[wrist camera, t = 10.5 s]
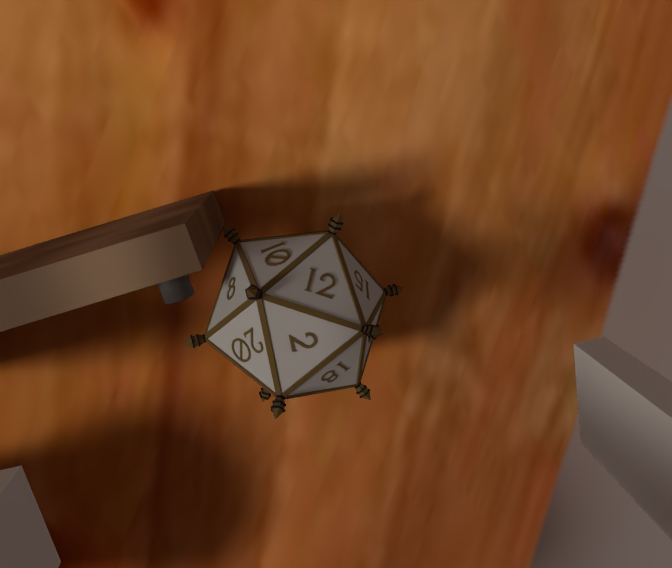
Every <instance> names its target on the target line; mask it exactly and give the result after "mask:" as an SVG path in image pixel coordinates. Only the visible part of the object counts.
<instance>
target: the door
mask: <svg viewBox="0 0 672 568" xmlns="http://www.w3.org/2000/svg"><path fill="white" fill-rule="evenodd" d="M224 224H225V221H224V218H223V215H222V212H221V210H220V207H219V204H218V201H217V198H216V195H215V192H214V191H210V192H207V193H204V194H200V195H197V196H194V197H191V198H187V199H184V200H181V201H177V202H174V203H171V204H167V205H164V206H161V207H158V208H154V209H151V210H148V211H144V212H141V213H138V214H135V215H131V216H128V217H125V218H121V219H118V220H115V221H112V222H108V223H105V224H102V225H98V226H95V227H92V228H89V229H85V230H82V231H79V232H75V233H72V234H69V235H65V236H62V237H59V238H56V239H52V240H49V241H46V242H42V243H39V244H36V245H33V246H29V247H26V248H23V249H19V250H16V251H13V252H10V253H6V254H3V255H0V332H1V331H5V330H8V329H11V328H15V327H18V326H21V325H24V324H28V323H31V322H34V321H37V320H41V319H44V318H47V317H50V316H54V315H57V314H60V313H63V312H67V311H70V310H73V309H77V308H80V307H83V306H86V305H90V304H93V303H96V302H99V301H103V300H106V299H109V298H112V297H116V296H119V295H122V294H125V293H129V292H132V291H135V290H139V289H142V288H145V287H148V286H152V285H155V284H157V285H158V287H159V290H160V292H161V295H162V297H163V300H164V302H165V304H172V303H176V302H179V301H182V300H185V299H187V298H189V297H190V296H192V295H193V294H194V290H193V288H192V285H191V283H190V280H189V277H188V275H187V274H191V273H194V272H197V271H201V270H203V267H204V265H205V263H206V261H207V259H208V257H209V255H210V253H211V251H212V249H213V247H214V245H215V243H216V241H217V239H218V237H219V235H220V233H221V231H222V229H223V226H224Z"/></svg>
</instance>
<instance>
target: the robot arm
mask: <svg viewBox="0 0 672 568" xmlns="http://www.w3.org/2000/svg"><path fill="white" fill-rule="evenodd" d="M574 356H575V370H576V383H577V397H578V410H579V424H580V437H581V444H582V445H583V446H584V447H585V448H586V449H587V450H588V451H589V452H590V453H591V454H592V455H593V457H594V458H595V459H596V460H597V461H598V462H599V463H600V464H601V465H602V466H603V467H604V468H605V469H606V470H607V472H608V473H609V474H610V475H611V476H612V477H613V478H614V479H615V480H616V481H617V482H618V483H619V484H620V485H621V486H622V487H623V489H624V490H625V491H626V492H627V493H628V494H629V495H630V496H631V497H632V498H633V499H634V500H635V501H636V502H637V504H639V506H640V507H641V508H642V509H643V510H644V511H645V512H646V513H647V514H648V515H649V516H650V517H651V518H652V520H653V521H654V522H655V523H656V524H657V525H658V526H659V527H660V528H661V529H662V530H663V531H664V532H665V533H666V534H667V536H668V537H670V539H671V540H672V382H671V381H670V380H668V379H667V378H665V377H664V376H662V375H661V374H659V373H658V372H656V371H655V370H653V369H652V368H650V367H649V366H647V365H646V364H644V363H643V362H641V361H640V360H638V359H637V358H635V357H634V356H632V355H631V354H629V353H628V352H626V351H625V350H623V349H622V348H620V347H619V346H617V345H616V344H614V343H613V342H611V341H610V340H608V339H607V338H605V337H601V338H597V339H592V340H588V341H583V342H579V343H574ZM60 563H61V560H60V558H59V556H58V553H57V551H56V548H55V546H54V543H53V541H52V538H51V536H50V534H49V531H48V529H47V526H46V524H45V521H44V519H43V516H42V514H41V512H40V509H39V507H38V504H37V502H36V499H35V497H34V495H33V492H32V490H31V487H30V485H29V482H28V480H27V477H26V475H25V473H24V470H23V468H22V465H21V466H17V467H12V468H8V469H3V470H0V568H58V567H59V565H60Z"/></svg>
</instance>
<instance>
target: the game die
mask: <svg viewBox="0 0 672 568" xmlns="http://www.w3.org/2000/svg"><path fill="white" fill-rule="evenodd" d="M330 221H331V222H330V223H329V224H328V226H329V230H328V231H319V232H310V233H300V234H291V235H282V236H272V237H263V238H254V239H245V240H240V239H239V237H238V233H236V232H235V228H234V229H232V228H228V227H225V226H223V227H224V232H225V236H224V237H225V238H226V237H227V239H228V241H231V242H232V243H233V244H234V248H233V251H232V254H231V257H230V260H229V263H228V266H227V269H226V272H225V275H224V278H223V281H222V284H221V287H220V289H219V292H218V295H217V298H216V301H215V304H214V307H213V310H212V313H211V316H210V319H209V322H208V325H207V328H206V331H205V334H204V335H198V334H196V336H192V335H191V337H190V338H189V339H188V340H186V341H185V342H184V343H183V344H186V345H189V346H192V347H194V348H195V346H198V345H199V346H200V345H201V344H203V343H204V342H207V343H208V344H209V345H210V346H212V347H213V348H214V349H215V350H217V351H218V352H219V353H220V354H222V355H223V356H224V357H225V358H227V359H228V360H229V361H230V362H232V363H233V364H234V365H235V366H237V367H238V368H239V369H240V370H242V371H243V372H244V373H245V374H247V375H248V376H249V377H251V378H252V379H253V380H254V381H256V382H257V383H258V384H259V385H261V386H262V387H263V388H261V392H259V394H260V397H261V399H262V402H263V401H264V400H266V399H267V400H268V399H269V398H270V396H271V395H270V394H272V395H273V396H274V397H276V399H275V400H274V401H273V406H271V411H272V412H273V414H274V416H275V419H276V418H277V417H278V416H279V415H280V414H281V413H283V412H285V409H284V407H285V406H286V404H285V402H284V399H290V398H295V397H301V396H306V395H312V394H318V393H323V392H329V391H335V390H340V389H346V388H352V387H355V388H356V390H357V394H359V395H360V398H365V399H369V400H371V399H370V392H369V391H370V389H367V388H366V387H367V386H366V385H363V384H361V379H362V375H363V372H364V368H365V365H366V362H367V358H368V355H369V352H370V348H371V345H372V341H373V339H374V340H375V339H376V338H377V337H378V336H379V335H381V334H383V333H382V332H381V330H380V329H379V325H377V324H378V321H379V318H380V314H381V311H382V308H383V304H384V301H385V297H386V296H387V295H390V296H393V295H398V293H399V292H400V291H401V290H402V289H403V288H402V287H400V286H397V285H395V284H393V285H391V286H390V285H388V287H387V288H383V287H382V286H381V285H380V284H379V283H378V282H377V281H376V279H375V278H374V277H373V276H372V275H371V274H370V273H369V271H368V270H367V269H366V268H365V267H364V266H363V265H362V263H361V262H360V261H359V260H358V259H357V258H356V257H355V255H354V254H353V253H352V252H351V251H350V250H349V249H348V247H347V246H346V245H345V244H344V243H343V242H342V241H341V239H340V238H339V237H338V236H337V235H336V233H337V231H338V230H341V228H340V227H341V225H343V222H342V219H341V213H339V214H337V215H336V216H335V217H332V218H331V219H330Z"/></svg>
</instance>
